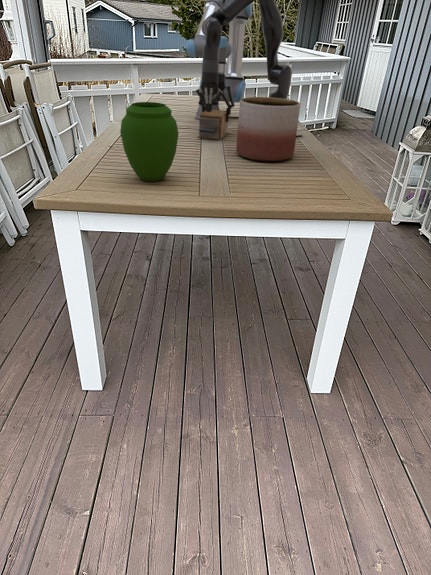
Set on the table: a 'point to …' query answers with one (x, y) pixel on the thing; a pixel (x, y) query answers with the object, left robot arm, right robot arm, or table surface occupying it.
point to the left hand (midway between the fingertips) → (215, 120)
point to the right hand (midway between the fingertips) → (208, 112)
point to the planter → (267, 128)
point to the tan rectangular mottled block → (223, 122)
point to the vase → (149, 139)
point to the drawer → (209, 127)
